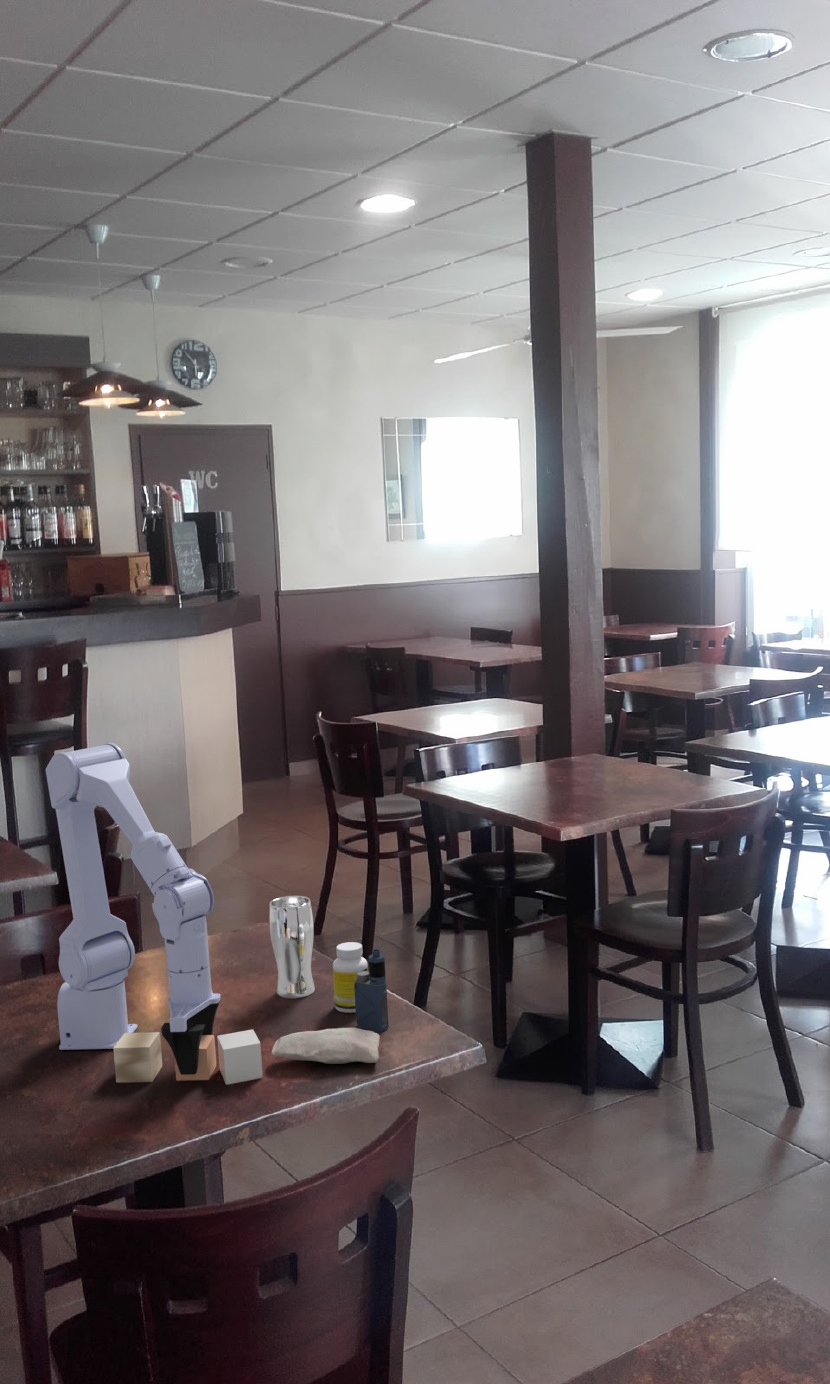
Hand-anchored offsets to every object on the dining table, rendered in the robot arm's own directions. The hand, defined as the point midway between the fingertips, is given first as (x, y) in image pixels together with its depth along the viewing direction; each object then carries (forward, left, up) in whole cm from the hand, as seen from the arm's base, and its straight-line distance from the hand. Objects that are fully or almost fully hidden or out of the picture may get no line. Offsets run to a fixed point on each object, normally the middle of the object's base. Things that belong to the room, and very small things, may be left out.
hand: (195, 1061), depth 163 cm
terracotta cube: (0, 0, -2) cm, 2 cm away
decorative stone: (+18, +4, -2) cm, 18 cm away
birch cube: (-8, 0, -2) cm, 8 cm away
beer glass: (+9, +29, -2) cm, 30 cm away
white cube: (+6, 0, -2) cm, 7 cm away
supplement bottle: (+19, +22, -2) cm, 29 cm away
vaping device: (+23, +14, -2) cm, 27 cm away
